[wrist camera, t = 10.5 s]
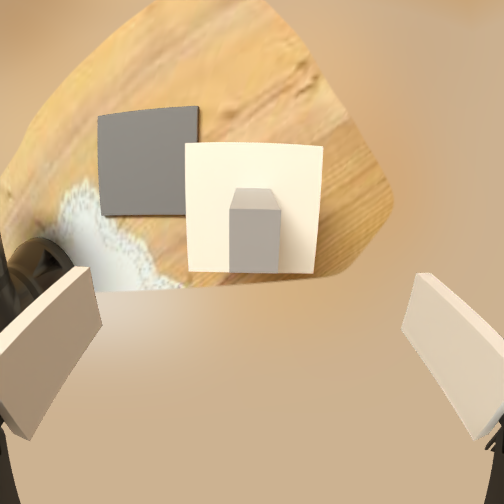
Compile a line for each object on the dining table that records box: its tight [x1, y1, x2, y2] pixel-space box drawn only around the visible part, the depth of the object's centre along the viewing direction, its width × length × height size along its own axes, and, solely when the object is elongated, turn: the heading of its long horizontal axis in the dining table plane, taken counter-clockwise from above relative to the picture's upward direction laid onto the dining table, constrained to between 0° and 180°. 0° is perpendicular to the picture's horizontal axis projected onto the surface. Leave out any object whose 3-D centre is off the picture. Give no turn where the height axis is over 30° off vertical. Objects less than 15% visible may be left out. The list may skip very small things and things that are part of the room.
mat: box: [98, 106, 199, 216], centre depth 35 cm, size 14×14×1 cm
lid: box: [185, 142, 323, 273], centre depth 22 cm, size 12×12×10 cm
